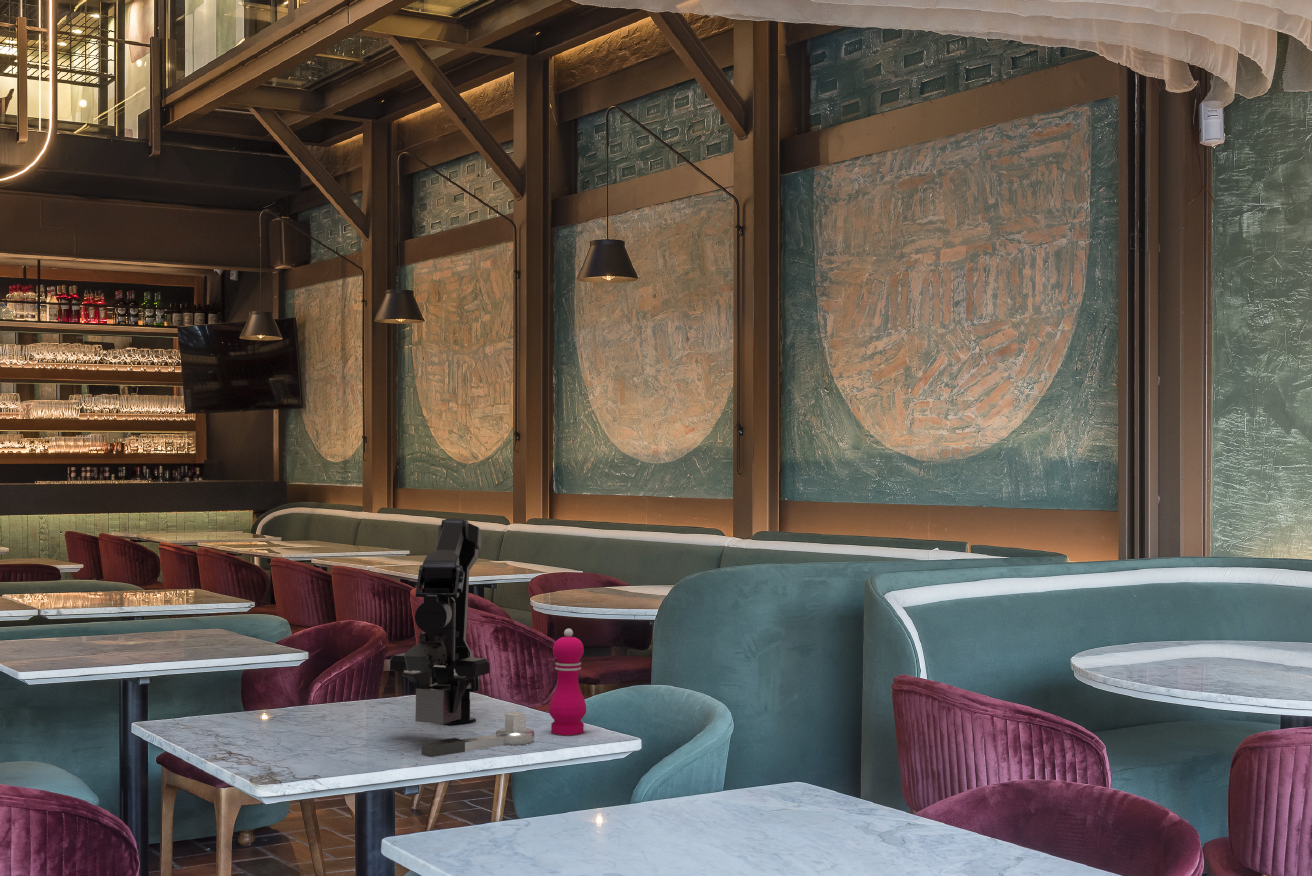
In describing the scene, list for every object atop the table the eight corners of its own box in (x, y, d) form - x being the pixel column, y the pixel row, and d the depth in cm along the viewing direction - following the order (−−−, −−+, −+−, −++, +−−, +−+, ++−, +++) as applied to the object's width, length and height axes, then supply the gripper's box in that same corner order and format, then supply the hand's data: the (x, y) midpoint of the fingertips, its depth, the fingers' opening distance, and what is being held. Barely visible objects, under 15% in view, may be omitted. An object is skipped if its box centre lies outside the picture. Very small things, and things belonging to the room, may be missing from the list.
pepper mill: (588, 729, 249) (589, 626, 250) (583, 736, 242) (584, 630, 243) (552, 728, 250) (553, 626, 251) (545, 735, 243) (546, 630, 243)
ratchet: (415, 752, 227) (416, 723, 227) (519, 736, 241) (519, 709, 242) (436, 759, 221) (437, 728, 222) (541, 742, 236) (541, 714, 236)
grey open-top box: (415, 721, 234) (416, 688, 235) (433, 715, 240) (434, 683, 240) (443, 723, 232) (443, 690, 232) (460, 718, 238) (461, 686, 238)
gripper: (372, 628, 233) (370, 714, 232) (459, 634, 226) (457, 722, 225) (407, 622, 243) (406, 704, 243) (491, 628, 236) (490, 712, 235)
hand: (438, 711), depth 236 cm, fingers closed on grey open-top box, 6 cm apart
